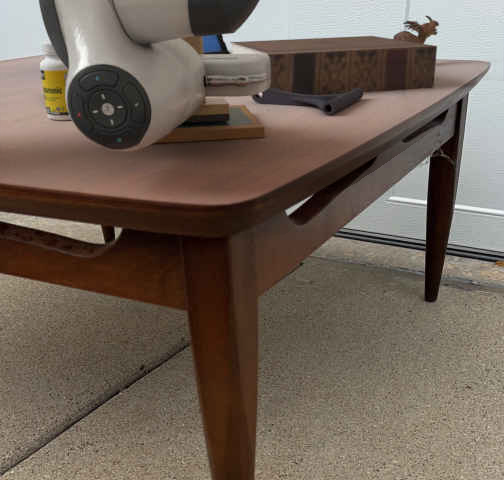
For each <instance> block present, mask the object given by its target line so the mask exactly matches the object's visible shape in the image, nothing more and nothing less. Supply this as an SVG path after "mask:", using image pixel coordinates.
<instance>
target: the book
mask: <svg viewBox="0 0 504 480" xmlns="http://www.w3.org/2000/svg"><path fill="white" fill-rule="evenodd" d="M229 44H230V45H231V46H232V48H231V50H232V54H265V55H268V56H269V57H270V61H271V85H270V86H271V87H274V88H277V89H280V90H283V91H286V92H292V93H298V94H304V95H331V94H345V93H347V92H350V91H352V90H354V89H356V88H361V89H362V90H363V94H364V93H376V92H377V93H378V92H393V91H406V90H421V89H420V88H423V89H433V88H435V87H434V85H435V73H436V62H437V51H438V45H433V44H426V43H424V44H421V43H415V42H408V41H402V40H395V39H393V38H389V37H382V36H375V35H360V36H359V35H358V36H337V37H317V38H316V37H315V38H314V37H313V38H291V39H273V40H272V39H269V40H249V41H230V42H229ZM432 87H433V88H432ZM259 95H261V96H262V92H261V93H259Z"/></svg>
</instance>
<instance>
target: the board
mask: <svg viewBox="0 0 504 480" xmlns="http://www.w3.org/2000/svg"><path fill="white" fill-rule="evenodd" d="M229 114H230V121H215V122H196V123H182V124H180V125H179V126H177V127H175V128H174V129H173V130H172V131H171V132H170V133H169V134H167V135H166V136H164V137H163V138H161V139H160V140H158V141H156V142H155V143H154V144H165V143H167V144H169V143H183V142H185V143H187V142H204V141H205V142H206V141H218V140H219V141H220V140H222V141H223V140H238V139H239V140H241V139H258V138H259V139H260V138H265V137H266V127H265V126H264V125H263V124H262V123H261V121H260V120H259V119H258V118H257V117H256V116H255V115H254V114H253V113H252V112H251V111H250V109H249V108H248V107H247V106H246V105H245V104H232V105H231V104H229Z"/></svg>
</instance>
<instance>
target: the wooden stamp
mask: <svg viewBox="0 0 504 480" xmlns="http://www.w3.org/2000/svg"><path fill="white" fill-rule="evenodd" d="M180 39H182V40H184V41H185V42H187V43H188V44H189V45H191V46H192V47H193V48H194V49H195V51H196V52H197V53H198V54H204V51H203V36H200V37H195V36H189V37H184V38H180ZM229 105H230V103H229V102H228V101H227V99H226V98H225V97H205V98H204V100H203V102H202V104H201V106H200V107H199V109H198V110H197V111H196V112H195V113H194V114H193V115H192V116H191V117H189V118H188V119H187V120H185V121H184V122H183V123H196V122H215V121H230V114H229Z"/></svg>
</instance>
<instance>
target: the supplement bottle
mask: <svg viewBox="0 0 504 480" xmlns="http://www.w3.org/2000/svg"><path fill="white" fill-rule="evenodd" d="M41 47H42V52H43V54H44V56H45V59H44V58H43V60H41V61H40V63H39V69H40V77H41V83H42V84H41V85H42V88H43V89H42V90H43V98H44V103H45V111H46V115H47V118H48V119H50V120H51V121H52V120H53V121H72V120H71V118H70V115H69V112H68V109H67V105H66V99H65V88H66V81H67V77H68V71H69V70H68V69H67V67H66V66H65V65H64V64H63V62H62V61H61V60H60V58H59V57H58V55H57V54H56V52H55V50H54V48H53V46H52V44H51V41H50V40H47V41H42V42H41Z"/></svg>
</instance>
